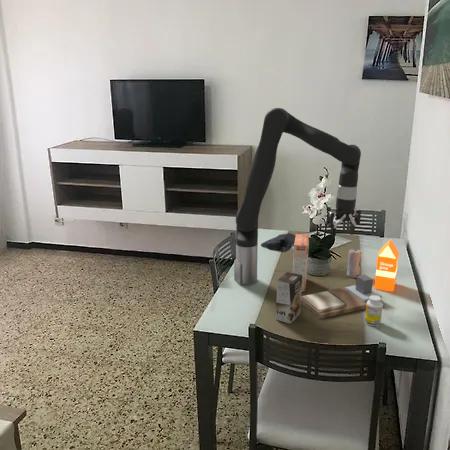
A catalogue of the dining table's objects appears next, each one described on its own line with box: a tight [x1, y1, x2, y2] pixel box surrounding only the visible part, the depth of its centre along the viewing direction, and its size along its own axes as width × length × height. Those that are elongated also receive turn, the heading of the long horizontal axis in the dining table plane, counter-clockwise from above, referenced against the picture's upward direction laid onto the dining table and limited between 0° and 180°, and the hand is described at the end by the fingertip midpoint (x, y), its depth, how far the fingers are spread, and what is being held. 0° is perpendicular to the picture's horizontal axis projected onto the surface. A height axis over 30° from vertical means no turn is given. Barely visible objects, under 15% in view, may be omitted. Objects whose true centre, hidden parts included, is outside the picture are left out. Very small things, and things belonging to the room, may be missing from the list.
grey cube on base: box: [344, 274, 383, 302], centre depth 190 cm, size 9×12×7 cm
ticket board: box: [301, 286, 367, 319], centre depth 186 cm, size 22×16×3 cm
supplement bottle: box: [364, 295, 384, 327], centre depth 171 cm, size 6×6×10 cm
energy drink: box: [346, 248, 362, 279], centre depth 210 cm, size 5×5×12 cm
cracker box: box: [292, 233, 310, 293], centre depth 200 cm, size 14×6×21 cm, turn 168°
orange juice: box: [374, 238, 400, 292], centre depth 198 cm, size 8×9×20 cm
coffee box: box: [275, 271, 302, 325], centre depth 175 cm, size 9×6×16 cm
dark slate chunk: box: [260, 232, 296, 252], centre depth 251 cm, size 15×22×5 cm
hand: (342, 235), depth 191 cm, fingers open, 8 cm apart
